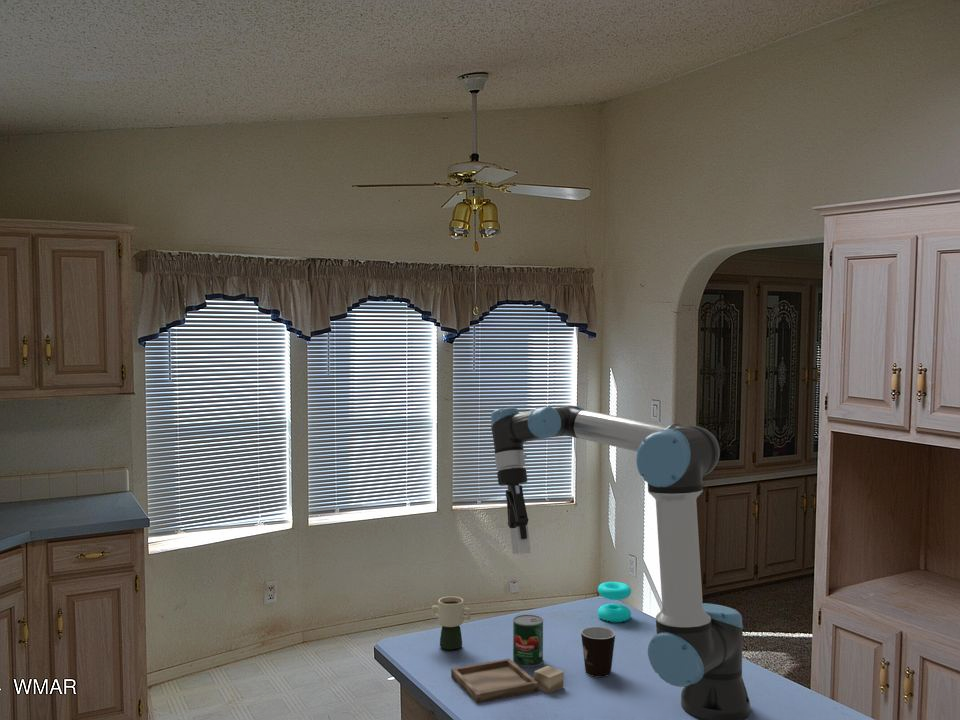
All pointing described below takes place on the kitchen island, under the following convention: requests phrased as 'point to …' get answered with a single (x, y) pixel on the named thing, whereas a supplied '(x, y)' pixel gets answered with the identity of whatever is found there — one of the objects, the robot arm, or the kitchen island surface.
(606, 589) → the donuts
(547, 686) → the wooden block
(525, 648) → the canned tomato
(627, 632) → the kitchen island surface
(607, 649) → the coffee mug
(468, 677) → the tray
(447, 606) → the character mug
